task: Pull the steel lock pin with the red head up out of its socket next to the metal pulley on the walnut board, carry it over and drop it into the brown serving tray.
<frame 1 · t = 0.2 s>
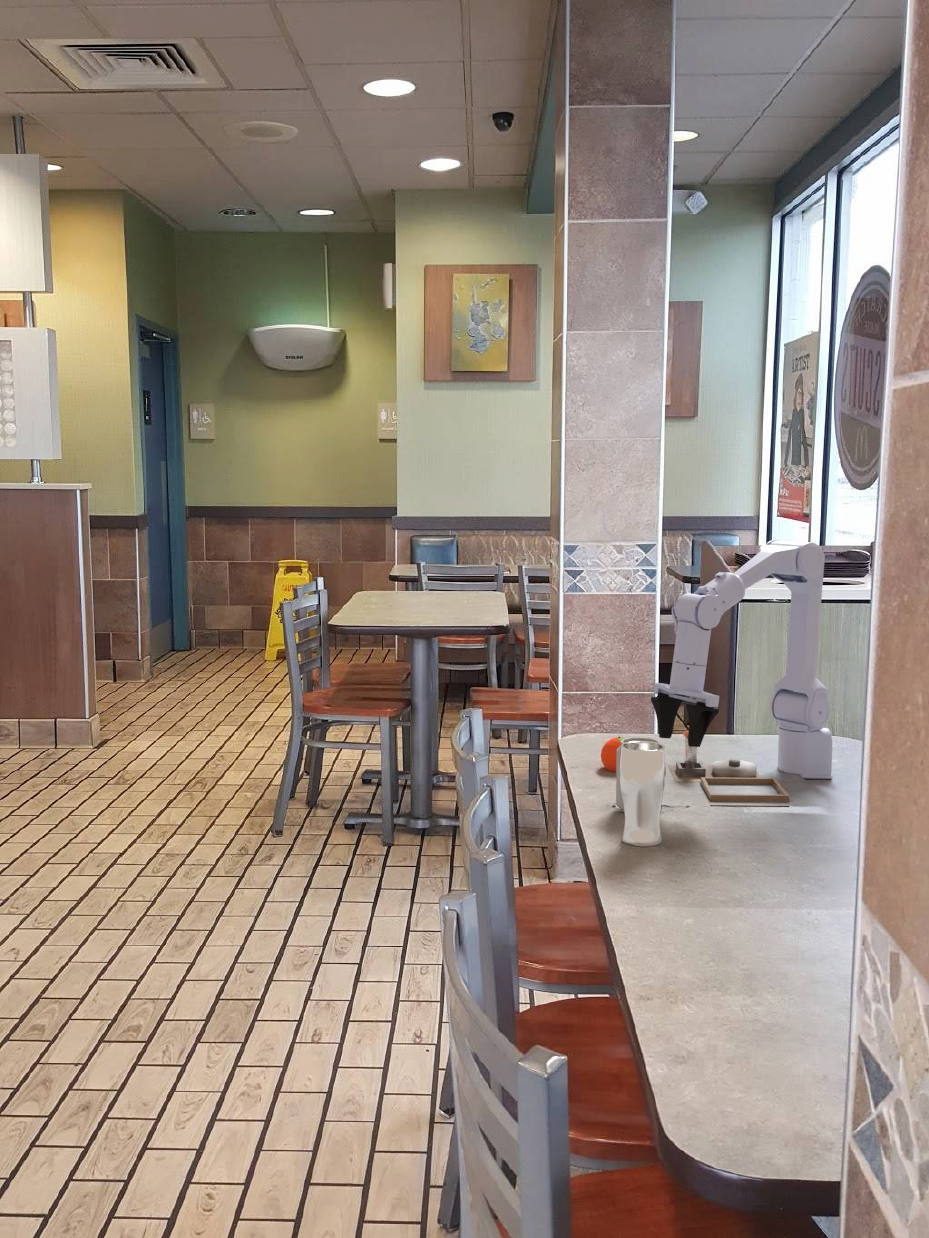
hand: (679, 742, 192), 10 cm above the table, tool pointing down, fingers open, 7 cm apart
can: (638, 811, 189), on the table
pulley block: (715, 778, 208), on the table
tray: (743, 797, 196), on the table
clementine: (621, 774, 212), on the table
lock pin: (690, 773, 208), point 1 cm above the table, touching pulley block
beer glass: (641, 841, 173), on the table
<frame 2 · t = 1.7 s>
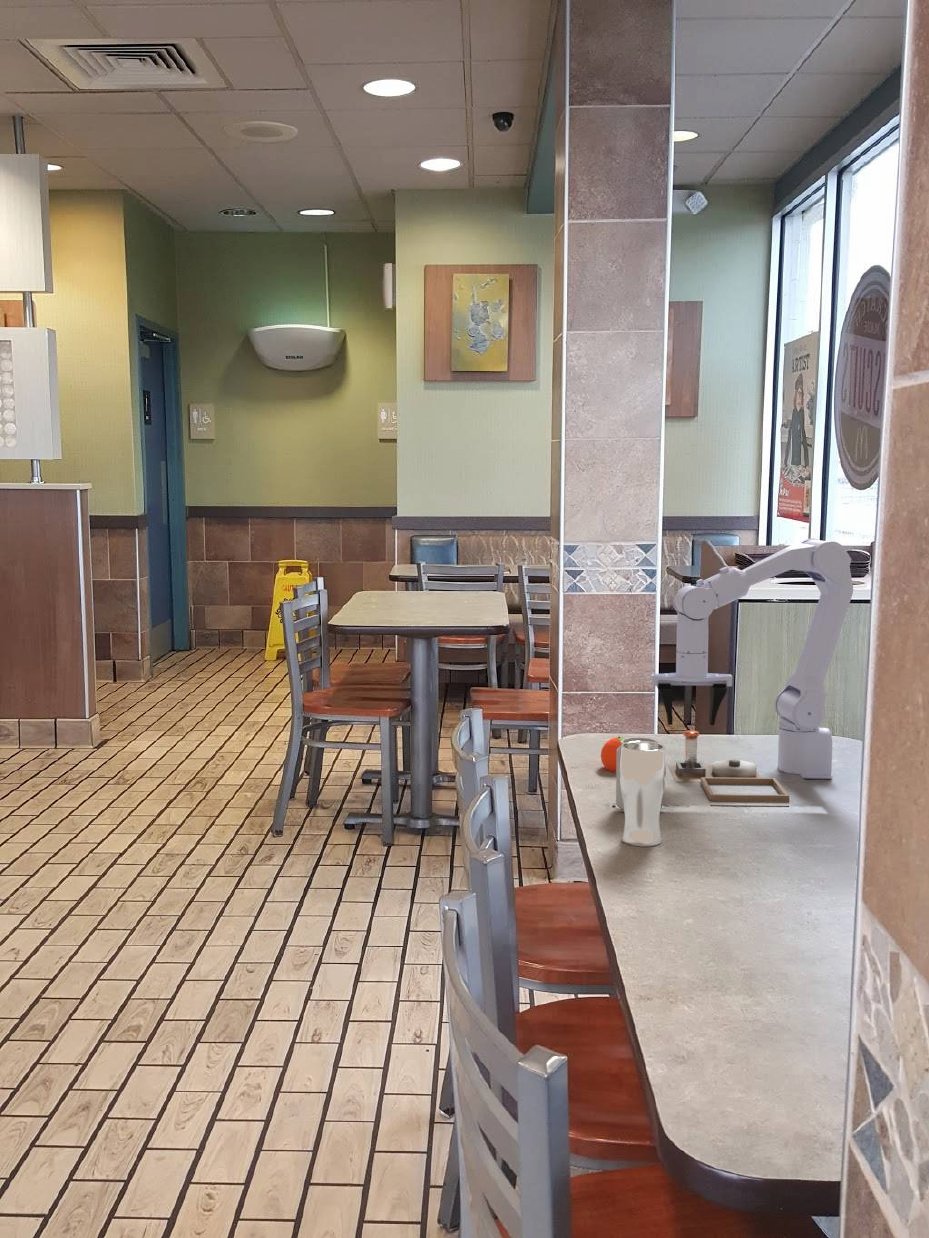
hand: (690, 723, 208), 10 cm above the table, tool pointing down, fingers open, 7 cm apart
nothing on the table moved.
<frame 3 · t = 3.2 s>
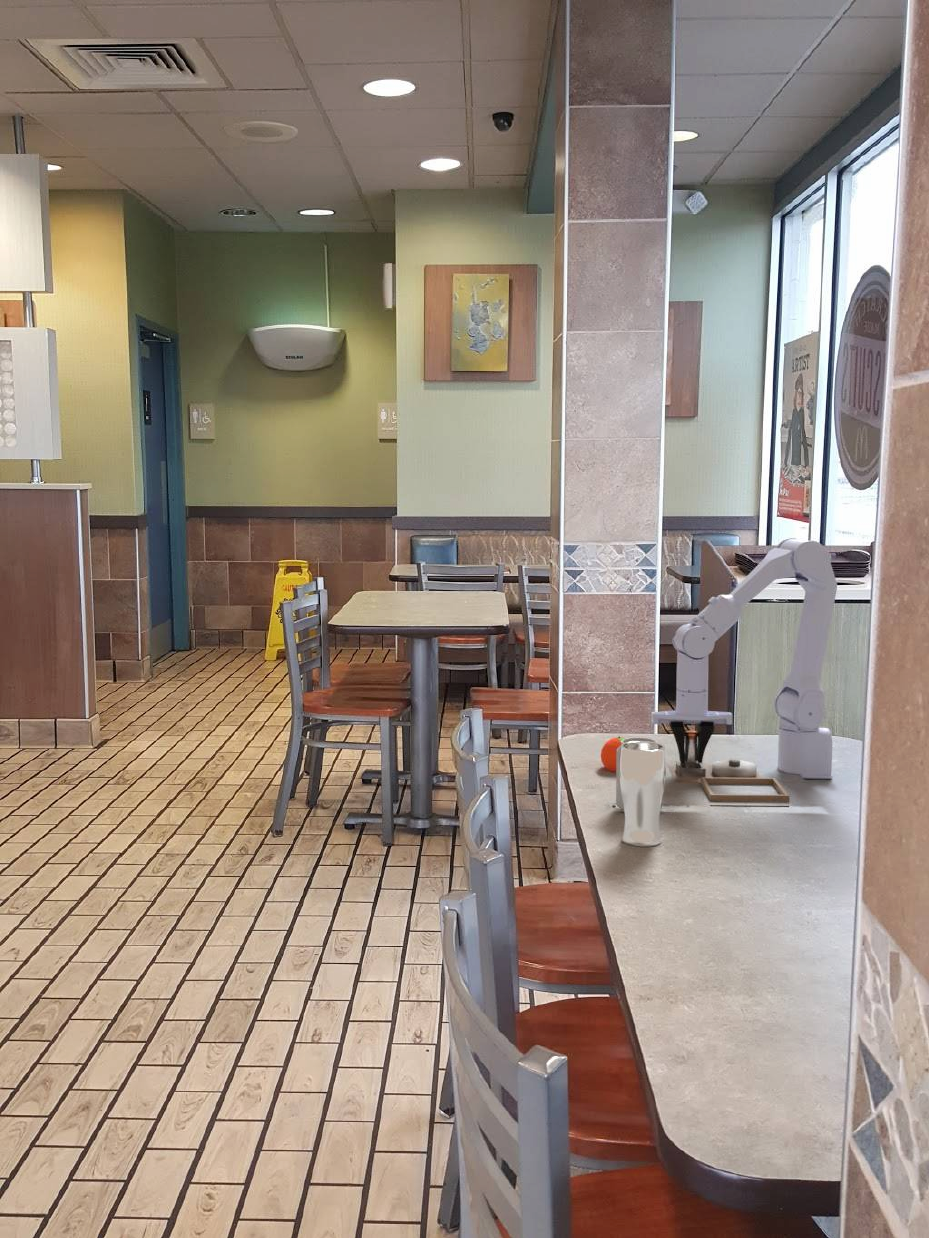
hand: (690, 761, 208), 3 cm above the table, tool pointing down, fingers closed on lock pin, 2 cm apart
lock pin: (690, 773, 208), point 1 cm above the table, touching gripper, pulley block
everything else where it was.
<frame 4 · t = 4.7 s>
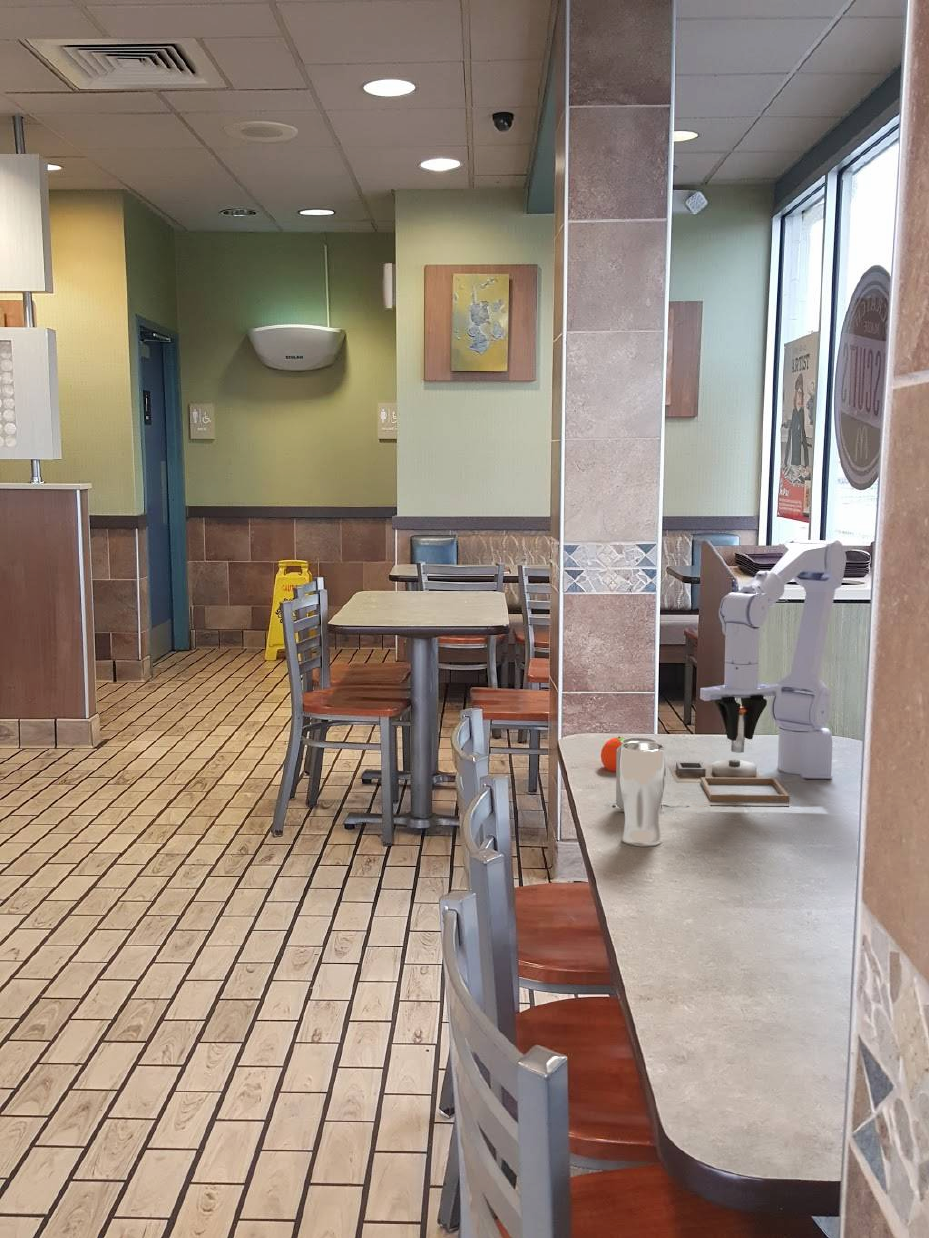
hand: (739, 738, 196), 10 cm above the table, tool pointing down, fingers closed on lock pin, 2 cm apart
lock pin: (737, 751, 196), point 8 cm above the table, touching gripper
everything else where it was.
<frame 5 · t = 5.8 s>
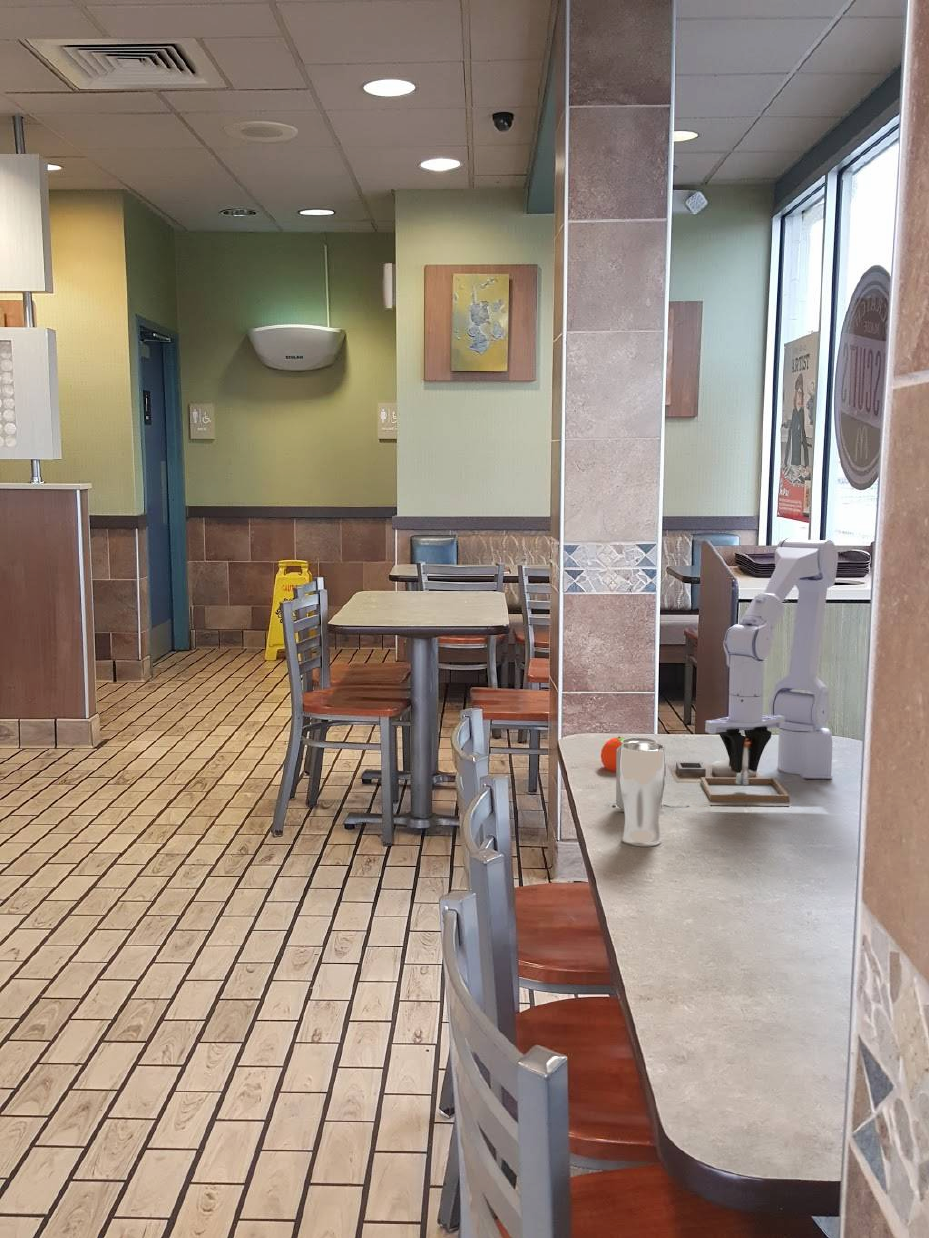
hand: (744, 770, 195), 5 cm above the table, tool pointing down, fingers closed on lock pin, 2 cm apart
lock pin: (741, 782, 196), point 3 cm above the table, touching gripper
everything else where it was.
when the fingers open (4 cm above the table, at t = 6.4 s): lock pin stays where it is, resting on tray.
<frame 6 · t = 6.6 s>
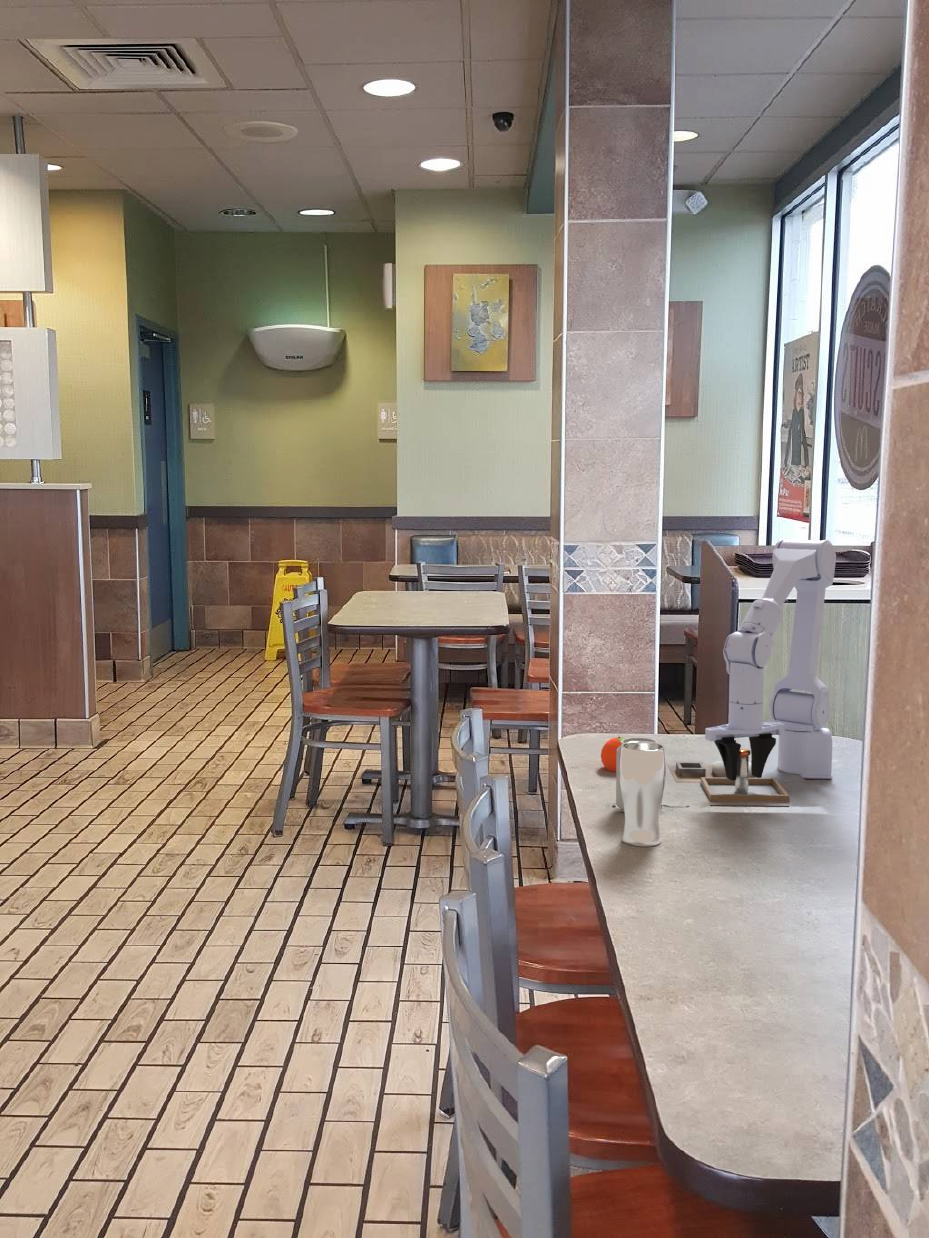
hand: (743, 777, 196), 4 cm above the table, tool pointing down, fingers open, 4 cm apart
lock pin: (741, 794, 196), point 1 cm above the table, touching tray
everything else where it was.
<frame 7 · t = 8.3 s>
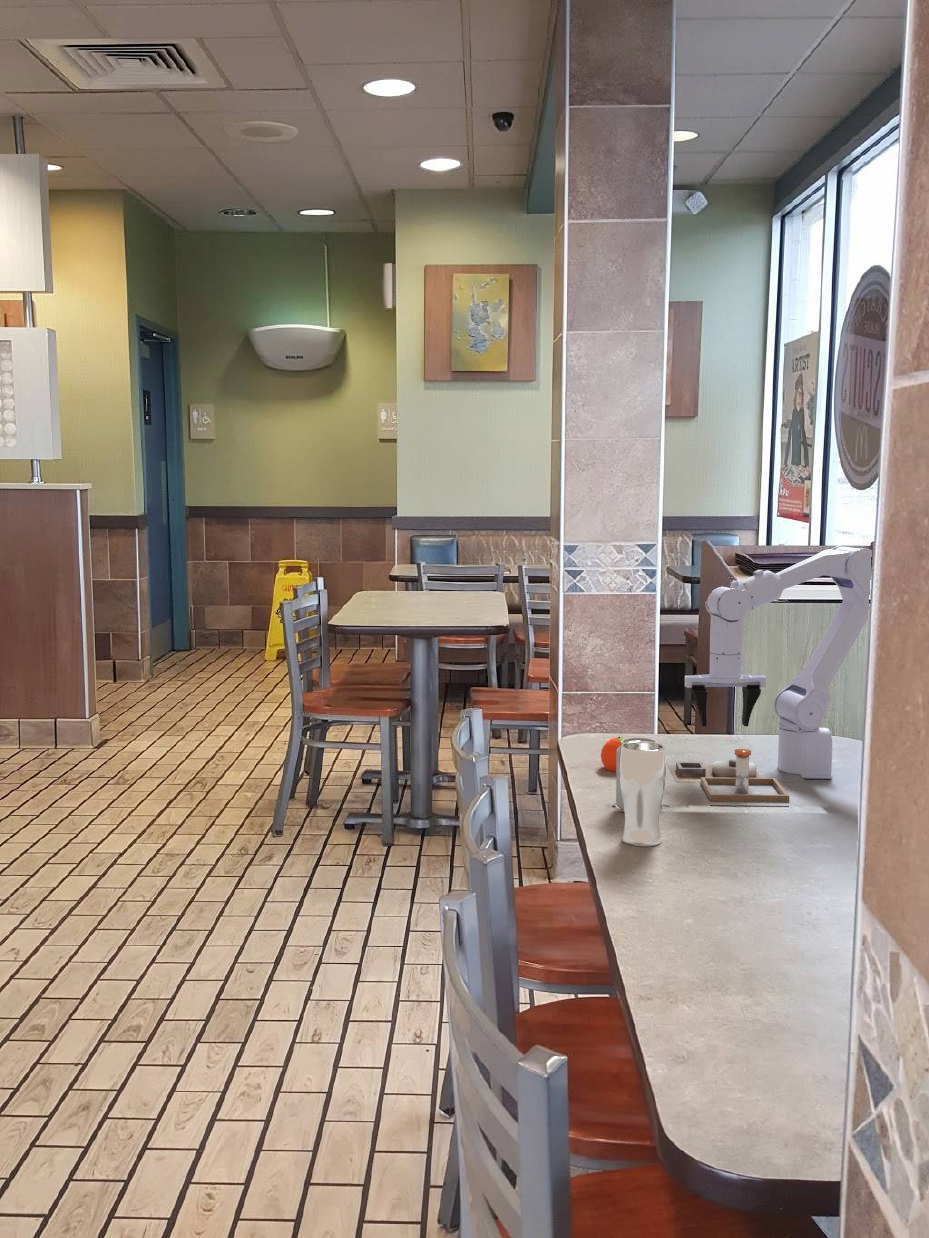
hand: (724, 725, 207), 10 cm above the table, tool pointing down, fingers open, 7 cm apart
nothing on the table moved.
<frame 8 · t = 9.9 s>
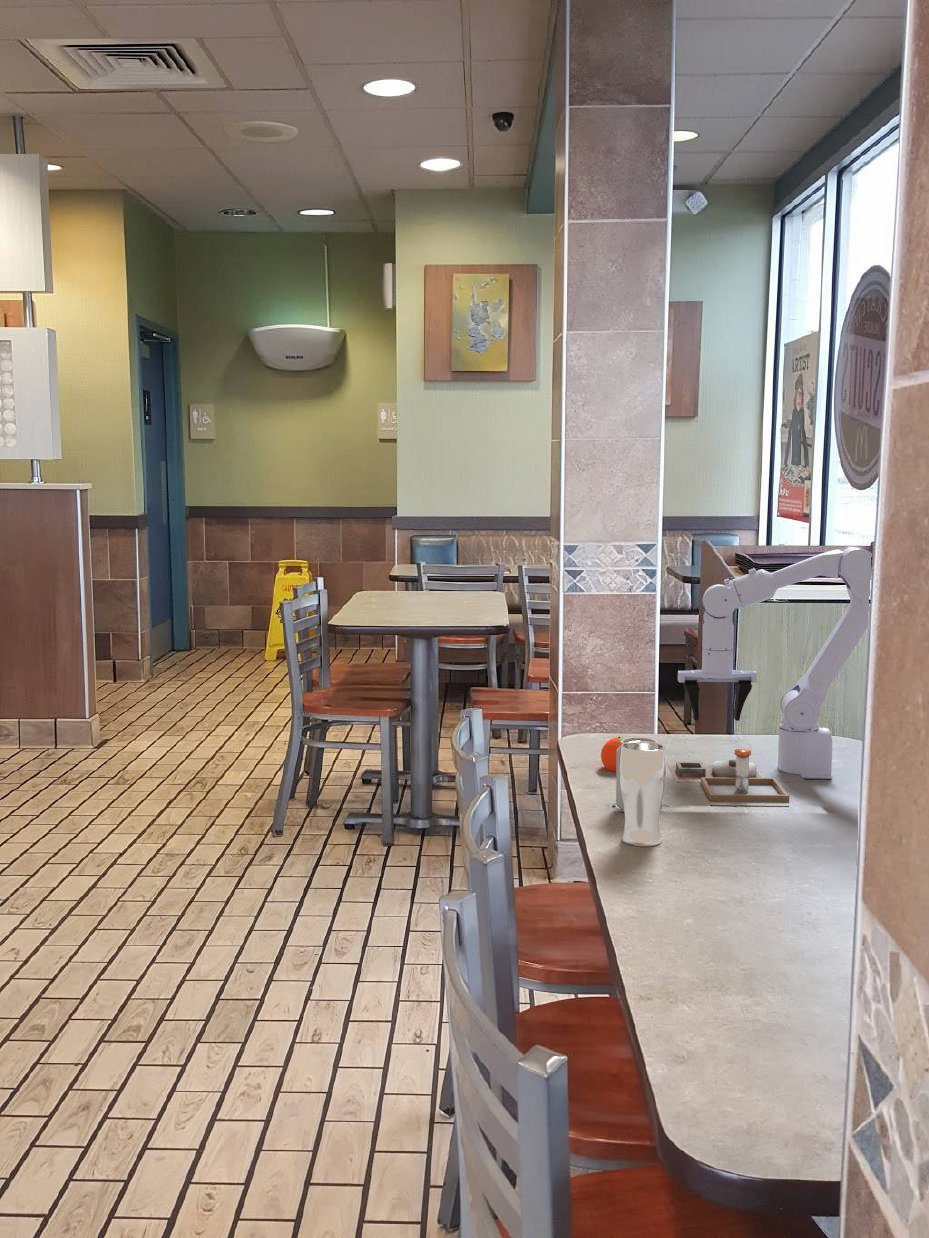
hand: (716, 719, 213), 10 cm above the table, tool pointing down, fingers open, 7 cm apart
nothing on the table moved.
at the end: lock pin inside the target area on the tray (0.4 cm from its centre), point 0.5 cm above the tray's base; the gripper is holding nothing; lock pin moved 13.8 cm from its start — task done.
